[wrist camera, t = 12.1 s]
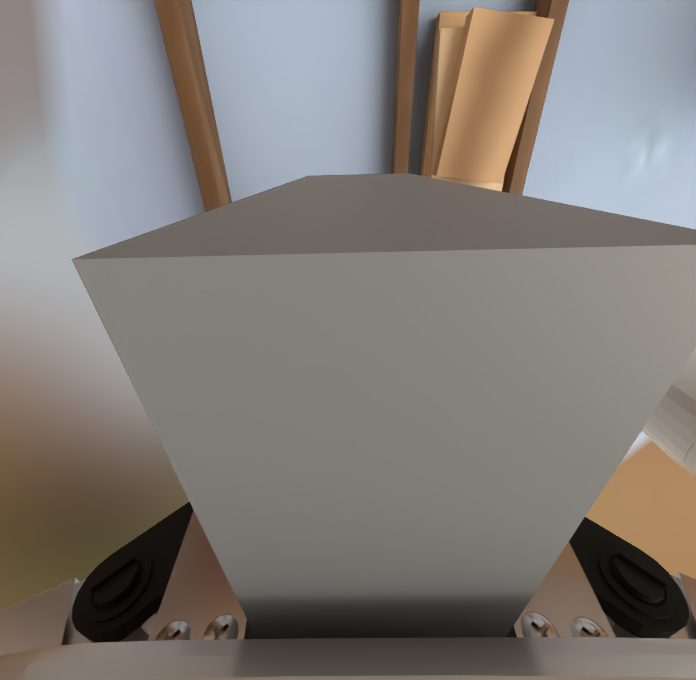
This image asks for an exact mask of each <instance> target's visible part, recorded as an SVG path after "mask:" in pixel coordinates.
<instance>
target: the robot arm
mask: <svg viewBox="0 0 696 680" xmlns="http://www.w3.org/2000/svg"><path fill="white" fill-rule="evenodd" d="M641 431H643V432H644V433H645V434H646V435H647V436H648V437H649V438H650V439H651V440H652V441H653V442H654V443H656V444H657V445H658V446H659V447H660V448H661V449H662V450H663V451H664V452H666V454H668V455H669V456H670V457H671V458H672V459H673V460H674V461H675V462H676V463H677V464H678V465H680V466H681V467H682V468H683V469H684V470H685V471H686V472H687V473H688V474H690V475H691V476H692V477H693V478H694V479H695V480H696V348H695V350H694V351H693V353H692V354H691V356H690V357H689V359H688V360H687V362H686V363H685V365H684V366H683V368H682V369H681V371H680V372H679V374H678V376H677V377H676V379H675V380H674V382H673V383H672V385H671V386H670V388H669V389H668V391H667V392H666V394H665V395H664V397H663V398H662V400H661V401H660V403H659V404H658V406H657V408H656V409H655V411H654V412H653V414H652V415H651V417H650V418H649V420H648V421H647V423H646V424H645V426H644V427H643V429H642V430H641ZM0 680H696V579H694V578H691V577H689V576H686V575H684V574H682V573H678V574H677V575H675V576H672V575H670V574H669V573H668V572H667V571H666V570H665V569H664V568H663V567H662V566H661V565H660V564H659V563H658V562H656V561H655V560H654V559H653V558H651V557H650V556H649V555H647V554H646V553H644V552H643V551H641V550H640V549H638V548H636V547H635V546H633V545H632V544H630V543H628V542H626V541H625V540H623V539H621V538H620V537H618V536H616V535H614V534H613V533H611V532H610V531H608V530H606V529H605V528H603V527H601V526H600V525H598V524H596V523H595V522H593V521H591V520H589V519H588V518H586V517H584V519H583V520H582V522H581V523H580V525H579V526H578V528H577V530H576V531H575V533H574V534H573V536H572V537H571V539H570V540H569V542H568V543H567V545H566V546H565V548H564V549H563V551H562V552H561V554H560V555H559V557H558V559H557V560H556V562H555V563H554V565H553V566H552V568H551V569H550V571H549V572H548V574H547V575H546V577H545V578H544V580H543V581H542V583H541V584H540V586H539V587H538V589H537V591H536V592H535V594H534V595H533V597H532V598H531V600H530V601H529V603H528V604H527V606H526V607H525V609H524V610H523V612H522V613H521V615H520V616H519V618H518V619H517V621H516V623H515V624H514V626H513V627H512V629H511V630H510V632H509V633H508V635H507V636H506V637H462V638H310V639H256V637H255V635H254V633H253V631H252V629H251V627H250V625H249V623H248V621H247V619H246V616H245V614H244V612H243V610H242V608H241V606H240V604H239V602H238V600H237V598H236V596H235V594H234V592H233V590H232V588H231V586H230V584H229V582H228V579H227V577H226V575H225V573H224V571H223V569H222V567H221V565H220V563H219V561H218V559H217V557H216V555H215V553H214V551H213V549H212V547H211V545H210V542H209V540H208V538H207V536H206V534H205V532H204V530H203V528H202V526H201V524H200V522H199V520H198V518H197V516H196V514H195V512H194V510H193V508H192V506H191V503H190V502H188V503H187V504H185V505H184V506H182V507H181V508H179V509H178V510H177V511H175V512H174V513H172V514H171V515H169V516H168V517H166V518H165V519H163V520H162V521H160V522H159V523H157V524H156V525H154V526H153V527H152V528H150V529H149V530H147V531H146V532H144V533H143V534H141V535H140V536H138V537H137V538H135V539H134V540H132V541H131V542H129V543H128V544H126V545H125V546H123V547H122V548H121V549H119V550H118V551H116V552H115V553H113V554H112V555H110V556H109V557H108V558H107V559H105V560H104V561H103V562H102V563H100V564H99V565H98V566H97V567H96V568H95V569H94V571H93V572H92V573H91V574H90V575H89V576H88V577H87V578H86V579H85V580H82V581H80V582H79V581H78V580H77V579H76V578H74V579H72V580H70V581H68V582H66V583H64V584H61V585H59V586H57V587H55V588H52V589H50V590H48V591H46V592H44V593H41V594H39V595H37V596H35V597H33V598H31V599H28V600H26V601H24V602H22V603H20V604H17V605H15V606H13V607H11V608H9V609H6V610H4V611H2V612H0Z"/></svg>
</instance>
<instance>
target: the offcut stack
mask: <svg viewBox="0 0 696 680" xmlns="http://www.w3.org/2000/svg"><path fill="white" fill-rule="evenodd" d="M536 14H537V12H504V11H497V10H491V9H484V8H477V7H474V8H473V9H472V10H471V12H440V13H439V15H438V17H437V18H436V27H435V36H434V46H433V55H432V65H431V74H430V84H429V93H428V103H427V112H426V121H425V131H424V140H423V150H422V159H421V169H420V176H425V177H430V178H435V179H441V180H446V181H451V182H456V183H461V184H466V185H471V186H476V187H481V188H486V189H491V190H496V191H502V187H503V181H504V175H505V171H506V168H507V165H508V162H509V159H510V156H511V153H512V150H513V146H514V143H515V140H516V137H517V134H518V131H519V128H520V125H521V122H522V119H523V115H524V112H525V109H526V106H527V103H528V100H529V97H530V94H531V91H532V88H533V85H534V81H535V78H536V75H537V72H538V69H539V66H540V63H541V60H542V57H543V54H544V50H545V47H546V44H547V41H548V38H549V35H550V32H551V29H552V26H553V23H554V19H550V18H544V17H537V16H536Z"/></svg>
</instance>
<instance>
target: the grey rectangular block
mask: <svg viewBox="0 0 696 680" xmlns="http://www.w3.org/2000/svg"><path fill="white" fill-rule="evenodd" d="M72 261H73V263H74V265H75V267H76V269H77V271H78V273H79V275H80V277H81V280H82V282H83V284H84V286H85V288H86V290H87V292H88V294H89V296H90V298H91V300H92V302H93V304H94V306H95V308H96V310H97V312H98V314H99V316H100V318H101V320H102V322H103V325H104V327H105V329H106V331H107V333H108V335H109V337H110V339H111V341H112V343H113V345H114V347H115V349H116V351H117V353H118V356H119V357H120V360H121V362H122V364H123V366H124V367H125V370H126V372H127V374H128V376H129V378H130V380H131V382H132V384H133V386H134V388H135V390H136V392H137V395H138V397H139V399H140V401H141V403H142V405H143V407H144V409H145V411H146V413H147V415H148V417H149V419H150V421H151V423H152V425H153V427H154V429H155V432H156V434H157V436H158V438H159V440H160V442H161V444H162V446H163V448H164V450H165V452H166V454H167V456H168V458H169V460H170V462H171V464H172V466H173V469H174V471H175V473H176V475H177V477H178V479H179V481H180V483H181V485H182V487H183V489H184V491H185V493H186V495H187V497H188V499H189V501H190V503H191V506H192V508H193V510H194V512H195V514H196V516H197V518H198V520H199V522H200V524H201V526H202V528H203V530H204V532H205V534H206V536H207V538H208V540H209V542H210V545H211V547H212V549H213V551H214V553H215V555H216V557H217V559H218V561H219V563H220V565H221V567H222V569H223V571H224V573H225V575H226V577H227V579H228V582H229V584H230V586H231V588H232V590H233V592H234V594H235V596H236V598H237V600H238V602H239V604H240V606H241V608H242V610H243V612H244V614H245V616H246V619H247V621H248V623H249V625H250V627H251V629H252V631H253V633H254V635H255V637H256V639H310V638H462V637H506V636H507V635H508V633H509V632H510V630H511V629H512V627H513V626H514V624H515V623H516V621H517V619H518V618H519V616H520V615H521V613H522V612H523V610H524V609H525V607H526V606H527V604H528V603H529V601H530V600H531V598H532V597H533V595H534V594H535V592H536V591H537V589H538V587H539V586H540V584H541V583H542V581H543V580H544V578H545V577H546V575H547V574H548V572H549V571H550V569H551V568H552V566H553V565H554V563H555V562H556V560H557V559H558V557H559V555H560V554H561V552H562V551H563V549H564V548H565V546H566V545H567V543H568V542H569V540H570V539H571V537H572V536H573V534H574V533H575V531H576V530H577V528H578V526H579V525H580V523H581V522H582V520H583V519H584V517H585V516H586V514H587V513H588V511H589V509H590V508H591V506H592V505H593V504H594V502H595V500H596V499H597V498H598V496H599V494H600V493H601V491H602V490H603V488H604V487H605V485H606V484H607V482H608V481H609V479H610V478H611V476H612V475H613V473H614V472H615V470H616V469H617V467H618V465H619V464H620V462H621V461H622V459H623V458H624V456H625V455H626V453H627V452H628V450H629V449H630V447H631V446H632V444H633V443H634V441H635V440H636V438H637V437H638V435H639V433H640V432H641V430H642V429H643V427H644V426H645V424H646V423H647V421H648V420H649V418H650V417H651V415H652V414H653V412H654V411H655V409H656V408H657V406H658V404H659V403H660V401H661V400H662V398H663V397H664V395H665V394H666V392H667V391H668V389H669V388H670V386H671V385H672V383H673V382H674V380H675V379H676V377H677V376H678V374H679V372H680V371H681V369H682V368H683V366H684V365H685V363H686V362H687V360H688V359H689V357H690V356H691V354H692V353H693V351H694V350H695V348H696V230H695V229H690V228H685V227H680V226H675V225H670V224H664V223H659V222H654V221H649V220H644V219H639V218H634V217H629V216H624V215H619V214H614V213H608V212H603V211H598V210H593V209H588V208H583V207H578V206H573V205H568V204H563V203H558V202H552V201H547V200H542V199H537V198H532V197H527V196H522V195H517V194H512V193H507V192H502V191H496V190H491V189H486V188H481V187H476V186H471V185H466V184H461V183H456V182H451V181H446V180H441V179H435V178H430V177H425V176H420V175H415V174H410V173H396V174H359V175H322V176H306V177H303V178H301V179H298V180H295V181H292V182H289V183H286V184H284V185H281V186H278V187H275V188H272V189H269V190H267V191H264V192H261V193H258V194H255V195H252V196H250V197H247V198H244V199H241V200H238V201H235V202H233V203H230V204H227V205H224V206H221V207H218V208H216V209H213V210H210V211H207V212H204V213H201V214H199V215H196V216H193V217H190V218H187V219H184V220H182V221H179V222H176V223H173V224H170V225H167V226H165V227H162V228H159V229H156V230H153V231H150V232H148V233H145V234H142V235H139V236H136V237H133V238H131V239H128V240H125V241H122V242H119V243H116V244H114V245H111V246H108V247H105V248H102V249H100V250H97V251H94V252H91V253H88V254H85V255H83V256H80V257H77V258H74V259H72Z"/></svg>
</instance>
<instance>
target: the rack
mask: <svg viewBox="0 0 696 680" xmlns="http://www.w3.org/2000/svg"><path fill="white" fill-rule="evenodd" d="M568 2H569V0H536V5H535V10H534V12H537V14H536V16H537V17H544V18H550V19H554V23H553V26H552V29H551V32H550V35H549V38H548V41H547V44H546V47H545V50H544V54H543V57H542V60H541V63H540V66H539V69H538V72H537V75H536V78H535V81H534V85H533V88H532V91H531V94H530V97H529V100H528V103H527V106H526V109H525V112H524V115H523V119H522V122H521V125H520V128H519V131H518V134H517V137H516V140H515V143H514V146H513V150H512V153H511V156H510V159H509V162H508V165H507V168H506V171H505V175H504V181H503V187H502V192H507V193H512V194H517V195H522V192H523V188H524V184H525V180H526V176H527V172H528V168H529V163H530V159H531V155H532V151H533V147H534V143H535V139H536V135H537V130H538V126H539V122H540V118H541V114H542V110H543V106H544V102H545V97H546V93H547V89H548V85H549V81H550V77H551V73H552V68H553V64H554V60H555V56H556V52H557V48H558V44H559V40H560V35H561V31H562V27H563V23H564V19H565V15H566V11H567V7H568ZM155 4H156V9H157V13H158V17H159V21H160V25H161V29H162V33H163V37H164V41H165V46H166V50H167V54H168V58H169V62H170V66H171V70H172V74H173V78H174V83H175V87H176V91H177V95H178V99H179V103H180V107H181V111H182V115H183V120H184V124H185V128H186V132H187V136H188V140H189V144H190V148H191V152H192V157H193V161H194V165H195V169H196V173H197V177H198V181H199V185H200V189H201V194H202V198H203V202H204V206H205V210H206V212H207V211H210V210H213V209H216V208H218V207H221V206H224V205H227V204H230V203H232V201H231V196H230V191H229V186H228V181H227V176H226V171H225V166H224V161H223V156H222V151H221V146H220V141H219V136H218V131H217V126H216V121H215V116H214V111H213V106H212V101H211V96H210V91H209V86H208V81H207V76H206V71H205V66H204V61H203V56H202V51H201V46H200V41H199V36H198V31H197V26H196V21H195V16H194V11H193V6H192V1H191V0H155ZM418 13H419V0H399V15H398V39H397V62H396V85H395V108H394V131H393V154H392V174H396V173H408V162H409V147H410V132H411V117H412V102H413V87H414V72H415V58H416V43H417V28H418Z"/></svg>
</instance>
